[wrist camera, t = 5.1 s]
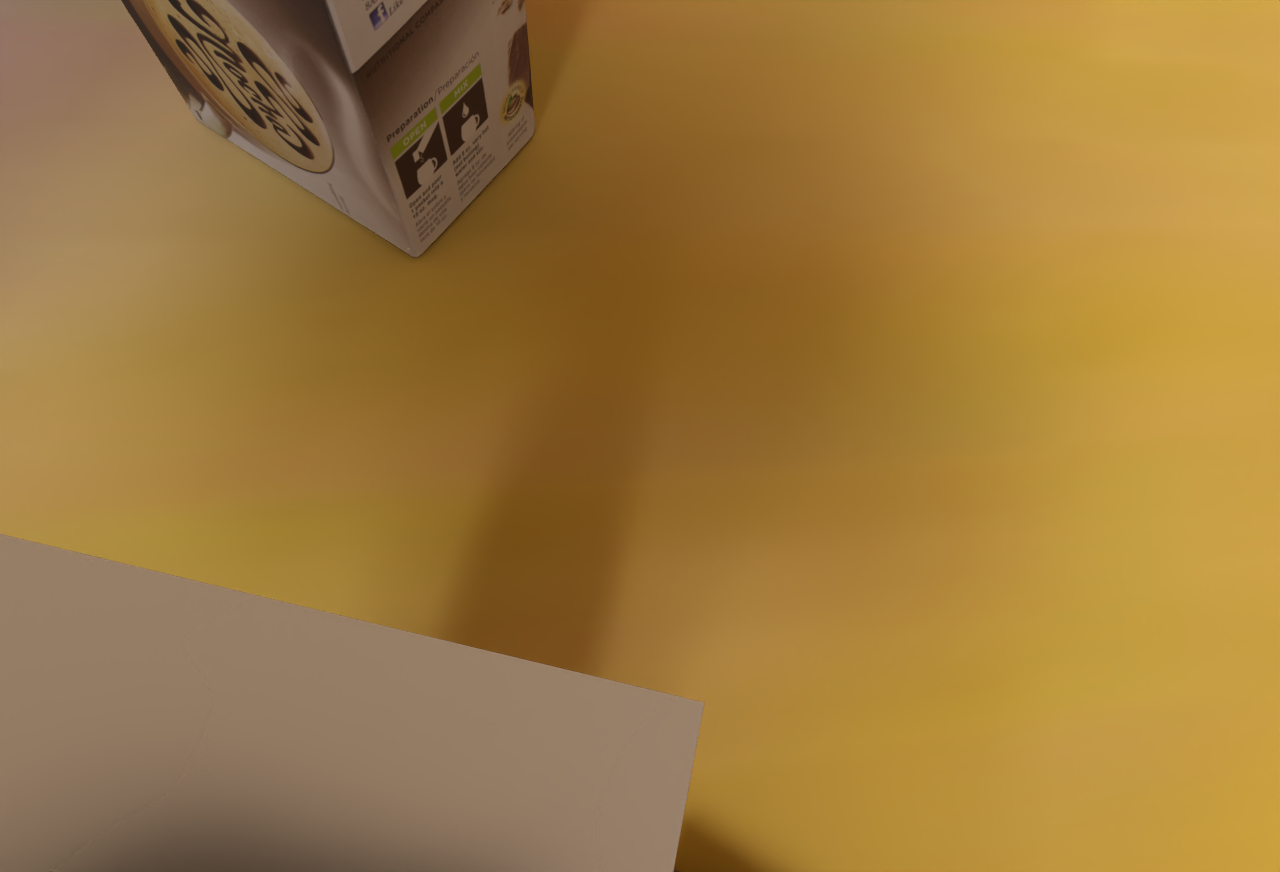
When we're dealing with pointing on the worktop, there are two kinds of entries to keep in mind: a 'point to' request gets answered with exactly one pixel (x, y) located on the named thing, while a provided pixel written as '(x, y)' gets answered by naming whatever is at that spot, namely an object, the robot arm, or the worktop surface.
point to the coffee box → (359, 96)
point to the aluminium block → (307, 739)
